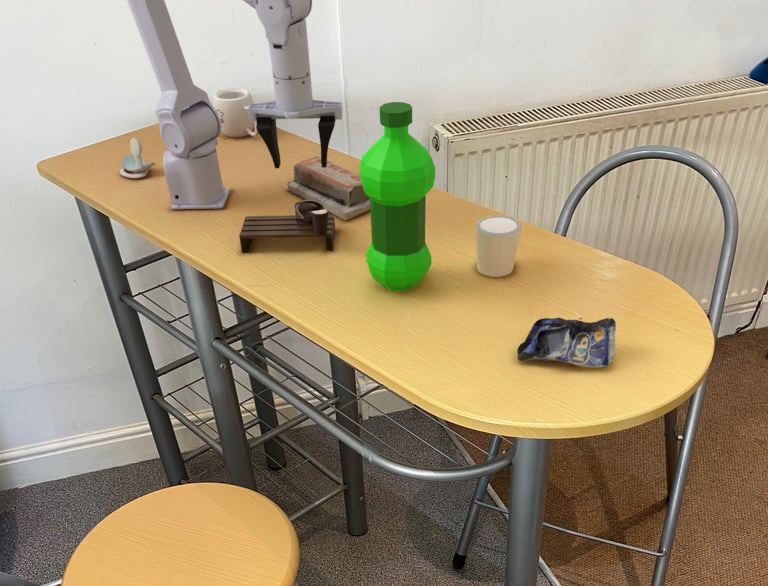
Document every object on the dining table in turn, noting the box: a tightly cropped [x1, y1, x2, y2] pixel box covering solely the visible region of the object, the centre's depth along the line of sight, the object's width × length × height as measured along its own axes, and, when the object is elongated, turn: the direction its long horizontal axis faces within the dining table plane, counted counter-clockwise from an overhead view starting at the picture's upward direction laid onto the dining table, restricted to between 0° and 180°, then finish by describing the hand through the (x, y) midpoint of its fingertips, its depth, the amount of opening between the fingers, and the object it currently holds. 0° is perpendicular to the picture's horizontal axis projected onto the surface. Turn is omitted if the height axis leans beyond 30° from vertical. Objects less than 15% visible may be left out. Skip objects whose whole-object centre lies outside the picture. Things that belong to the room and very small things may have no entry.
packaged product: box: [286, 156, 370, 221], centre depth 137 cm, size 18×5×10 cm
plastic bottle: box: [358, 101, 436, 292], centre depth 108 cm, size 10×10×25 cm
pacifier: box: [119, 137, 156, 179], centre depth 148 cm, size 7×6×6 cm
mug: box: [212, 87, 259, 139], centre depth 159 cm, size 12×8×8 cm
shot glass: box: [475, 215, 522, 278], centre depth 117 cm, size 7×7×7 cm
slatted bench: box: [238, 214, 337, 254], centre depth 126 cm, size 15×7×3 cm, turn 89°
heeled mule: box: [294, 199, 329, 236], centre depth 124 cm, size 4×11×4 cm, turn 23°
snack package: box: [516, 317, 617, 368], centre depth 101 cm, size 12×6×12 cm
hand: (301, 165), depth 125 cm, fingers open, 7 cm apart
